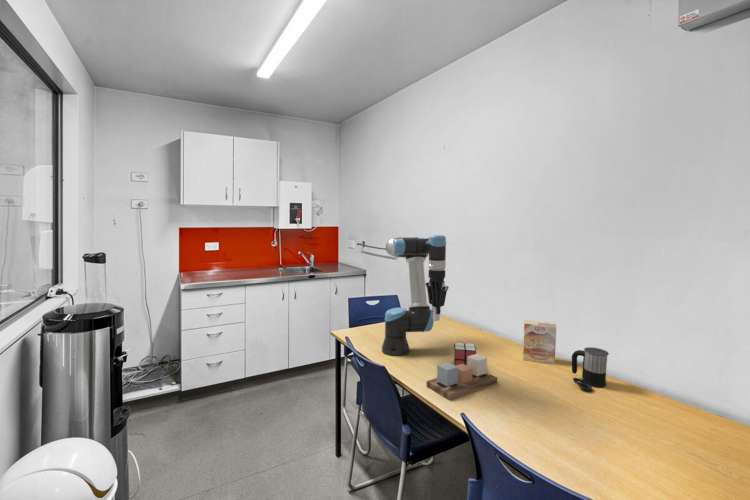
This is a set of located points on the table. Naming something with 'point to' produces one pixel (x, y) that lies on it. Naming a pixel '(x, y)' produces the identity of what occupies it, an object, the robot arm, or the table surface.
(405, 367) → the table surface
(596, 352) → the milk frother
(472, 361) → the cream block
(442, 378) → the slate block
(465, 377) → the terracotta block
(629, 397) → the table surface
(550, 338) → the coffeecake box
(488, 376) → the button board
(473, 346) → the puzzle cube
